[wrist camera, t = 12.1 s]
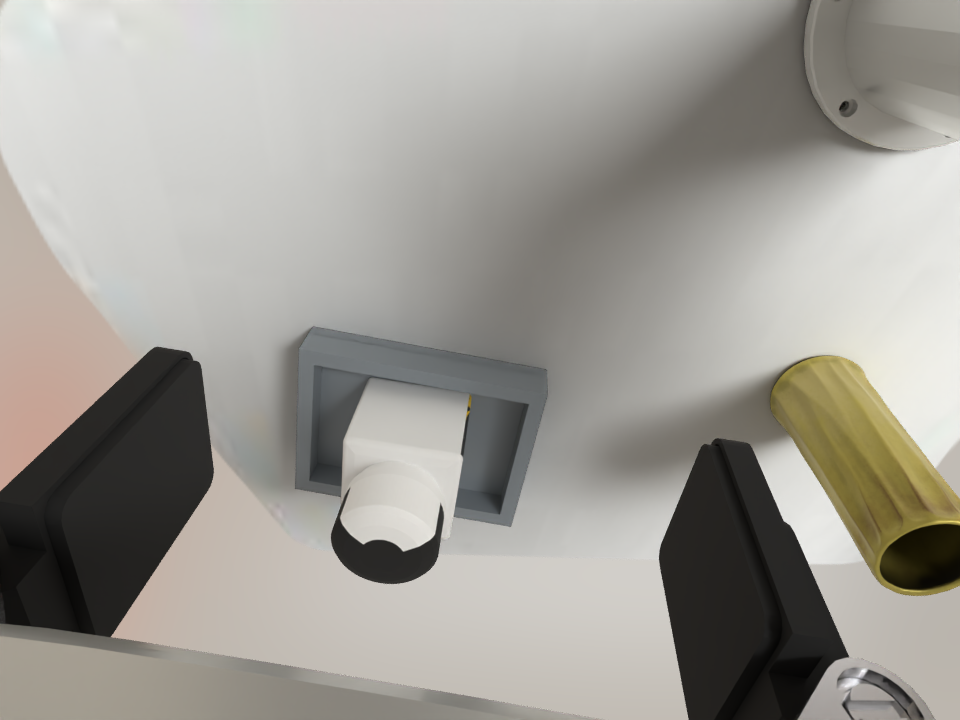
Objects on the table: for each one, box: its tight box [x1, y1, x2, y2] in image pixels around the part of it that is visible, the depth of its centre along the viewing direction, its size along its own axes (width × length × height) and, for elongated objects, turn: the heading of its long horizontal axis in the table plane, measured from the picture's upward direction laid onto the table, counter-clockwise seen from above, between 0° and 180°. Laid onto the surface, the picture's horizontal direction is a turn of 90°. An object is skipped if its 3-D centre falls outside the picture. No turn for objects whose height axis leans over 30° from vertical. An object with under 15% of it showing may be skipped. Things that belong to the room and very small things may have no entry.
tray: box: [295, 327, 548, 527], centre depth 44 cm, size 16×12×3 cm
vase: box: [770, 356, 960, 596], centre depth 36 cm, size 6×6×14 cm
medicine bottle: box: [331, 377, 472, 584], centre depth 40 cm, size 7×7×12 cm
